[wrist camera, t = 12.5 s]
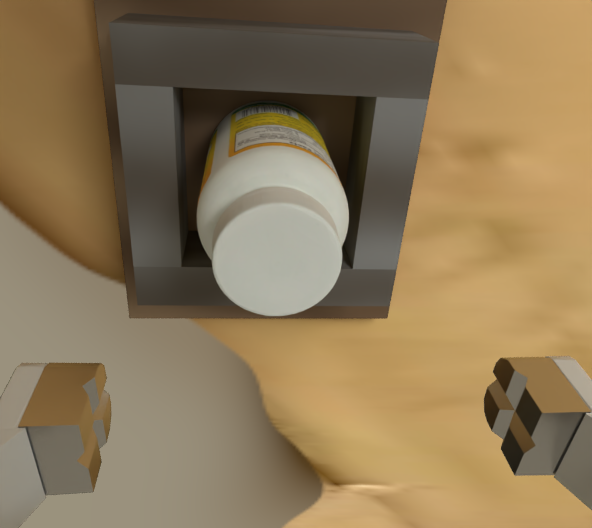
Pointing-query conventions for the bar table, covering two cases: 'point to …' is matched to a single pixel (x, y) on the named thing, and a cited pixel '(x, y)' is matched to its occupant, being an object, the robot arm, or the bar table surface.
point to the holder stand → (259, 87)
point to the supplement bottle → (272, 210)
